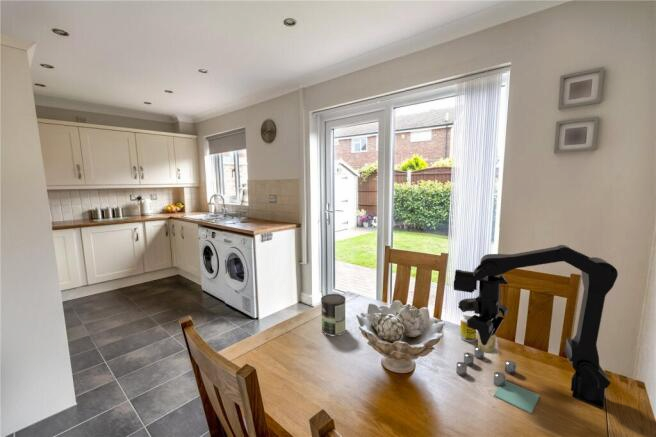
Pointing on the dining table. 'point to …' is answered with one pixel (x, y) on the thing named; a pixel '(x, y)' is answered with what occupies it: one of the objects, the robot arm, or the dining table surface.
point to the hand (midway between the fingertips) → (486, 341)
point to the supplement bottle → (467, 328)
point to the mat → (517, 396)
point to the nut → (488, 344)
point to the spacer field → (469, 358)
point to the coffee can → (333, 314)
